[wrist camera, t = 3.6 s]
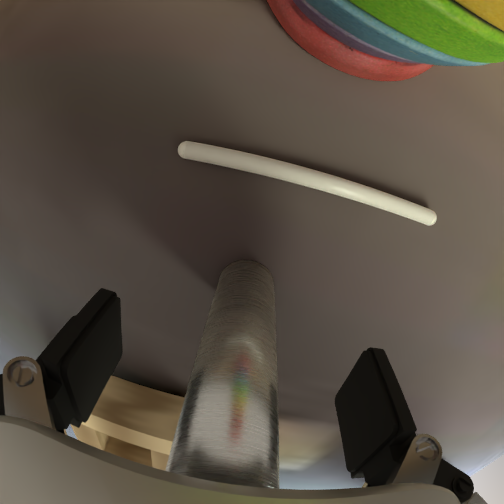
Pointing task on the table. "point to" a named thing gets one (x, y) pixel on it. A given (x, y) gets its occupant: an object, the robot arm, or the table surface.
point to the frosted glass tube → (233, 387)
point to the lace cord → (305, 178)
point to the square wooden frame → (133, 423)
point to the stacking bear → (395, 34)
